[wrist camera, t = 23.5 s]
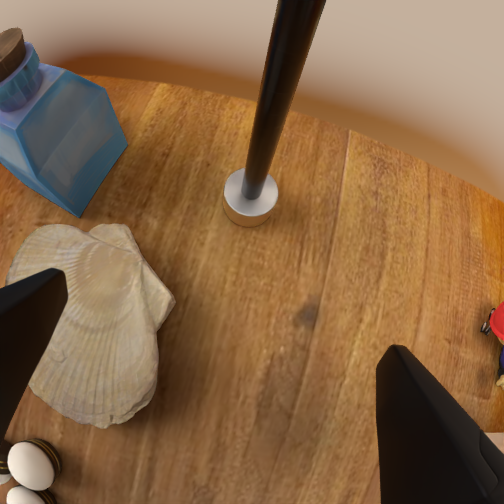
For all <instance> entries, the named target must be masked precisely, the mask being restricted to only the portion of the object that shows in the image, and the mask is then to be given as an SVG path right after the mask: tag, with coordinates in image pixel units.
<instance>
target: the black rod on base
mask: <svg viewBox="0 0 504 504" xmlns="http://www.w3.org/2000/svg"><path fill="white" fill-rule="evenodd" d="M325 3H326V0H278V4H277V9H276V13H275V18H274V23H273V27H272V33H271V37H270V42H269V47H268V52H267V57H266V62H265V67H264V72H263V77H262V82H261V87H260V92H259V97H258V102H257V107H256V112H255V118H254V123H253V128H252V133H251V139H250V144H249V149H248V155H247V160H246V166H245V168H242V169H239V170H237V171H235V172H233V173H232V174H231V175H230V176H229V177H228V179H227V181H226V183H225V186H224V196H223V207H224V211H225V213H226V215H227V216H228V217H229V219H230V220H231V221H233V222H234V223H236V224H238V225H240V226H244V227H254V226H258V225H260V224H262V223H264V222H265V221H266V220H267V219H268V218H269V217H270V215H271V213H272V211H273V209H274V206H275V204H276V202H277V199H278V187H277V184H276V182H275V180H274V179H273V178H272V177H271V175H269V174H268V172H269V169H270V166H271V163H272V160H273V157H274V154H275V151H276V148H277V145H278V142H279V139H280V136H281V133H282V130H283V127H284V124H285V121H286V118H287V115H288V112H289V109H290V106H291V102H292V100H293V97H294V94H295V91H296V88H297V84H298V82H299V79H300V76H301V73H302V70H303V67H304V64H305V61H306V58H307V55H308V52H309V49H310V46H311V43H312V40H313V37H314V35H315V32H316V29H317V26H318V23H319V20H320V17H321V14H322V11H323V8H324V5H325Z"/></svg>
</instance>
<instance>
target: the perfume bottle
mask: <svg viewBox="0 0 504 504" xmlns="http://www.w3.org/2000/svg"><path fill="white" fill-rule="evenodd" d="M39 61H40V60H39V57H38V55H37V53H36V51H35V49H34V47H33V45H32V44H31V43H29V42H24V39H23V34H22V30H21V29H20V28H11V29H8V30H6V31H4V32H2V33H0V163H2V164H3V165H4V166H5V167H6V168H7V169H8V170H9V171H10V172H11V173H13V174H14V175H15V176H16V177H17V178H18V179H19V180H20V181H21V182H23V183H24V184H25V185H26V186H28V187H29V188H31V189H33V190H34V191H36V192H37V193H39V194H41V195H42V196H44V197H45V198H47V199H49V200H50V201H52V202H53V203H55V204H57V205H58V206H60V207H62V208H63V209H65V210H67V211H68V212H70V213H71V214H73V215H75V216H76V217H78V218H80V216H81V214H82V213H83V211H84V209H85V208H86V206H87V205H88V203H89V201H90V200H91V198H92V197H93V195H94V194H95V192H96V190H97V189H98V187H99V186H100V184H101V183H102V181H103V180H104V178H105V177H106V175H107V174H108V172H109V171H110V169H111V168H112V167H113V165H114V164H115V162H116V161H117V159H118V158H119V157H120V155H121V154H122V152H123V151H124V150H125V148H126V147H127V146H128V143H127V141H126V139H125V136H124V134H123V131H122V129H121V127H120V124H119V122H118V119H117V117H116V115H115V112H114V110H113V107H112V105H111V102H110V100H109V97H108V95H107V92H106V90H105V88H103V87H101V86H99V85H97V84H95V83H93V82H91V81H89V80H87V79H85V78H83V77H81V76H79V75H76V74H74V73H72V72H70V71H68V70H66V69H62V68H58V67H55V66H51V65H46V64H42V63H39Z"/></svg>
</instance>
